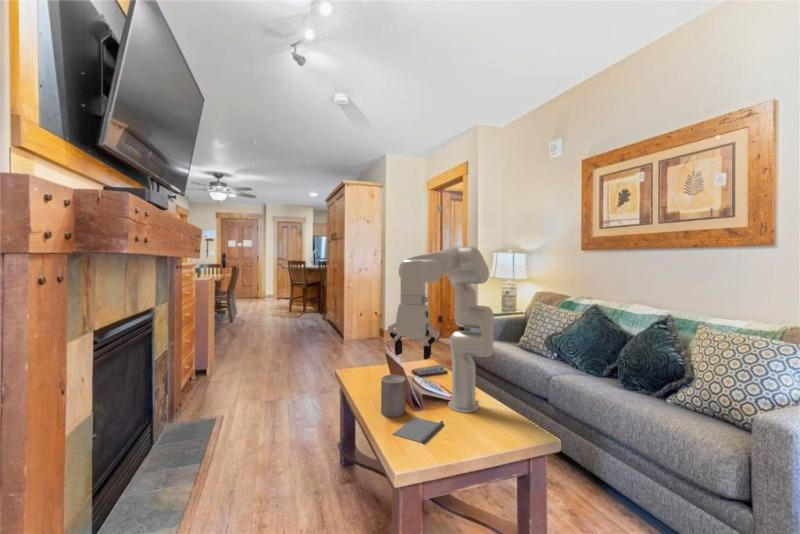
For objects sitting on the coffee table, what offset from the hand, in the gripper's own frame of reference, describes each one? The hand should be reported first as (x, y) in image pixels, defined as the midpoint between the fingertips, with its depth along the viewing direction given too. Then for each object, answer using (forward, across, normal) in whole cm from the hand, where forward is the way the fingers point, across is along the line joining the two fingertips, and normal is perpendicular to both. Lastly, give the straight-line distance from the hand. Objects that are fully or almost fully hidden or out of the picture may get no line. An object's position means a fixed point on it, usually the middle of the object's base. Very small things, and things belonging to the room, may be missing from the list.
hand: (412, 356), depth 108 cm
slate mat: (+31, +6, -17) cm, 36 cm away
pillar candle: (+31, +22, -25) cm, 46 cm away
